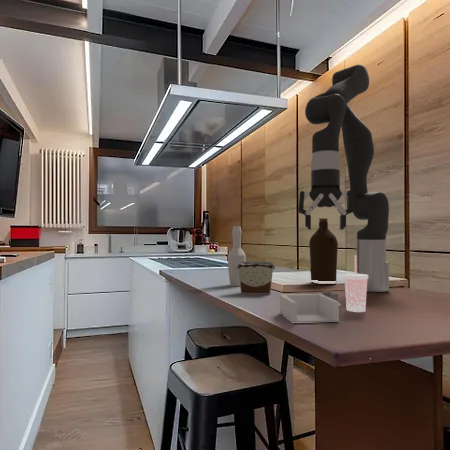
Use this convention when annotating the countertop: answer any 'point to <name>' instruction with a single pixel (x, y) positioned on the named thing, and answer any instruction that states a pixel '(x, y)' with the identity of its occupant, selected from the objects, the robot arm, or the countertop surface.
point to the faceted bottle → (235, 257)
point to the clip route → (330, 295)
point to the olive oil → (323, 253)
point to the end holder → (309, 308)
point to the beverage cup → (355, 290)
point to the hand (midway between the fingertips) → (325, 229)
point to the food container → (255, 277)
